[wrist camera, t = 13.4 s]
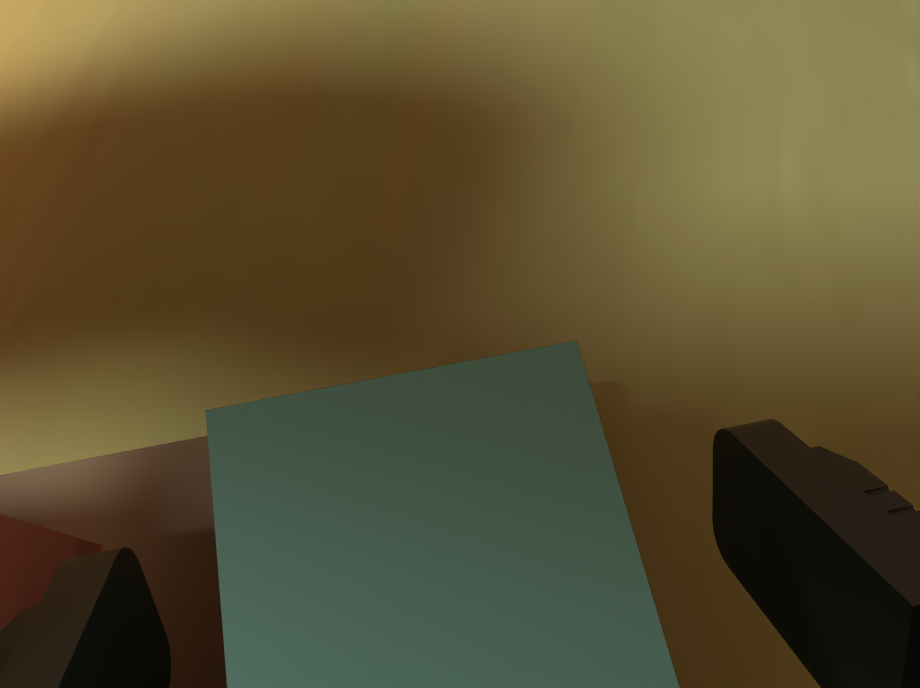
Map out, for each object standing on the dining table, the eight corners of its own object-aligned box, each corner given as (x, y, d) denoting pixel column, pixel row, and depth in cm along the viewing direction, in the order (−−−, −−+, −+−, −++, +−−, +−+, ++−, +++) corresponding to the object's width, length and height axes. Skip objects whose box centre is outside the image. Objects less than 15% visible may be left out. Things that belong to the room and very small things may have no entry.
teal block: (382, 811, 14) (261, 1135, 5) (344, 549, 16) (206, 410, 7) (557, 767, 14) (769, 988, 5) (499, 516, 16) (577, 339, 7)
